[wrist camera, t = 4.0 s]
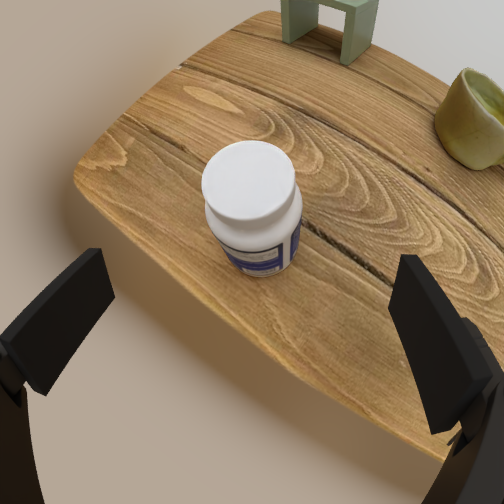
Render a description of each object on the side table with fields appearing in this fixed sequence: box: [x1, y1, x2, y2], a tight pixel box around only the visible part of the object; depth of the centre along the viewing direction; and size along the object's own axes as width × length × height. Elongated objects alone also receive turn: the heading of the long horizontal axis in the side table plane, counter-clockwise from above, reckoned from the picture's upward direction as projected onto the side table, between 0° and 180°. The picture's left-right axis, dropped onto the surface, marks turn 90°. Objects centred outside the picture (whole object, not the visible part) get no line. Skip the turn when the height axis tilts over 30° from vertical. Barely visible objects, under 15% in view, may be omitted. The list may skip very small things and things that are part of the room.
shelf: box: [281, 0, 379, 66], centre depth 27 cm, size 10×8×9 cm
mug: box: [434, 68, 504, 170], centre depth 21 cm, size 12×10×10 cm
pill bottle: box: [202, 140, 302, 277], centre depth 19 cm, size 6×6×10 cm
